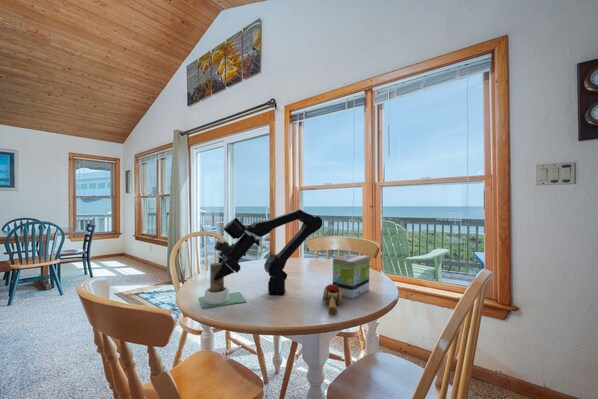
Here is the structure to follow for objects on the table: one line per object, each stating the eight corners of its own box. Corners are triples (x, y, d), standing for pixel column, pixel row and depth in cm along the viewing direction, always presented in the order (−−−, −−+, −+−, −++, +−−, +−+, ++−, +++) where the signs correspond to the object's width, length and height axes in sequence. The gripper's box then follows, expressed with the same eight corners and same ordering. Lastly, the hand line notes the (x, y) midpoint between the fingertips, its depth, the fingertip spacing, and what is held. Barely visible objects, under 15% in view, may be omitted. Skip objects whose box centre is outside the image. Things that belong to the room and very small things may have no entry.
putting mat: (239, 292, 118) (239, 282, 118) (246, 302, 107) (246, 290, 107) (199, 298, 112) (199, 287, 112) (201, 308, 101) (201, 296, 101)
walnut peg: (221, 294, 112) (222, 262, 112) (225, 299, 108) (225, 265, 107) (208, 296, 110) (209, 263, 109) (211, 301, 105) (211, 267, 105)
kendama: (346, 319, 95) (343, 294, 113) (343, 301, 94) (340, 279, 112) (323, 322, 96) (323, 297, 113) (320, 305, 95) (320, 282, 113)
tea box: (354, 299, 110) (354, 261, 110) (331, 294, 116) (331, 258, 116) (369, 290, 122) (369, 255, 122) (348, 285, 128) (348, 253, 128)
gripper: (223, 231, 119) (195, 259, 115) (231, 236, 102) (199, 269, 97) (242, 248, 122) (215, 276, 118) (252, 256, 105) (222, 289, 100)
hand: (213, 277), depth 108 cm, fingers open, 7 cm apart
